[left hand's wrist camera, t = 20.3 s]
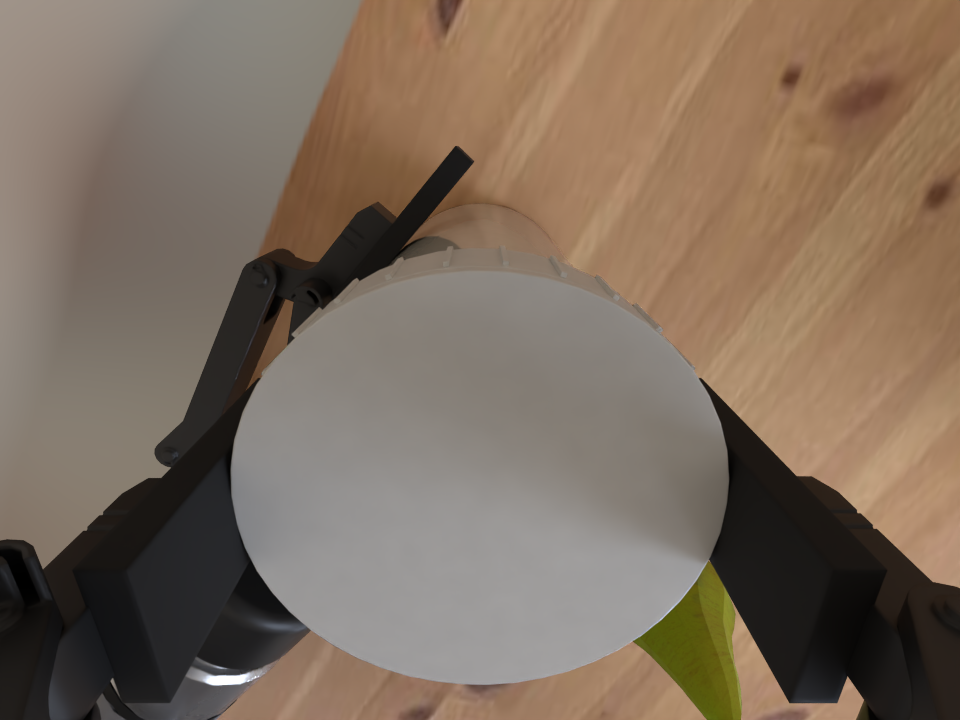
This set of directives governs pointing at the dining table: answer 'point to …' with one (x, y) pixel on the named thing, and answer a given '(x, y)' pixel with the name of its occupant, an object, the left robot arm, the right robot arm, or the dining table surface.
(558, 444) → the lid
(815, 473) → the dining table surface
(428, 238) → the jar
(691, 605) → the fruit
